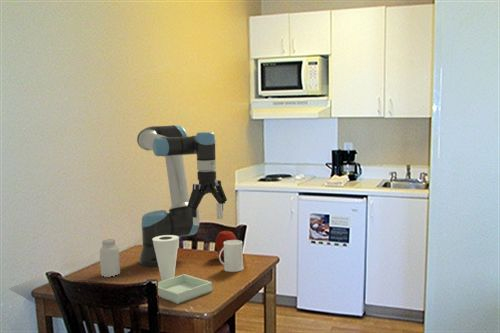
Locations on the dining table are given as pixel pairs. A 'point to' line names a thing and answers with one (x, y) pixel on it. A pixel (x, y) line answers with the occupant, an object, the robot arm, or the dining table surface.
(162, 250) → the cup
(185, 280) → the tray
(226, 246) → the mug
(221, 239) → the red rounded piece
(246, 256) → the dining table surface
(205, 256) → the dining table surface
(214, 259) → the dining table surface
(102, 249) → the pill bottle
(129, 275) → the dining table surface
